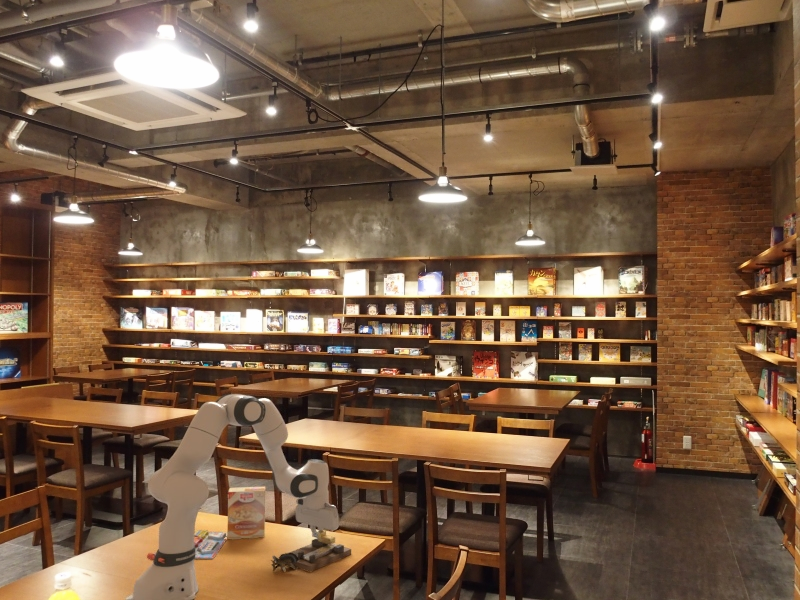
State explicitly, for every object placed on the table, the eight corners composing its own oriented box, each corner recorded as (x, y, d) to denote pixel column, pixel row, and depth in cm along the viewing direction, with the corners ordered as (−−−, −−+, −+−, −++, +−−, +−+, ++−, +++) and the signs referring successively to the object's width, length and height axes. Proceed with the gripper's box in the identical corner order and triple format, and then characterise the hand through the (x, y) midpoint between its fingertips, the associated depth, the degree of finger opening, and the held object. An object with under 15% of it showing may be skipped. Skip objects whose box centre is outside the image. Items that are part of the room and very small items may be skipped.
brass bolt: (329, 544, 238) (329, 535, 238) (318, 541, 242) (318, 532, 242) (335, 542, 240) (335, 533, 240) (323, 539, 244) (323, 530, 244)
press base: (310, 572, 223) (310, 559, 223) (279, 561, 232) (279, 549, 233) (351, 554, 241) (351, 542, 241) (320, 545, 250) (321, 534, 250)
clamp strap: (309, 562, 227) (309, 558, 227) (301, 559, 229) (301, 556, 229) (338, 548, 239) (338, 545, 239) (330, 546, 242) (330, 543, 242)
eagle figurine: (276, 574, 218) (301, 565, 222) (270, 553, 221) (295, 545, 225) (273, 579, 224) (298, 570, 228) (268, 559, 227) (292, 550, 231)
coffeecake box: (227, 540, 255) (227, 491, 256) (228, 534, 262) (229, 487, 263) (264, 538, 258) (265, 490, 259) (264, 532, 265) (265, 485, 266)
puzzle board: (213, 561, 234) (213, 554, 234) (150, 561, 233) (151, 554, 234) (232, 534, 265) (232, 527, 265) (176, 534, 264) (177, 528, 264)
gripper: (342, 504, 241) (342, 540, 241) (304, 495, 253) (304, 530, 253) (331, 507, 236) (331, 545, 236) (293, 498, 248) (292, 534, 248)
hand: (316, 537), depth 244 cm, fingers closed
